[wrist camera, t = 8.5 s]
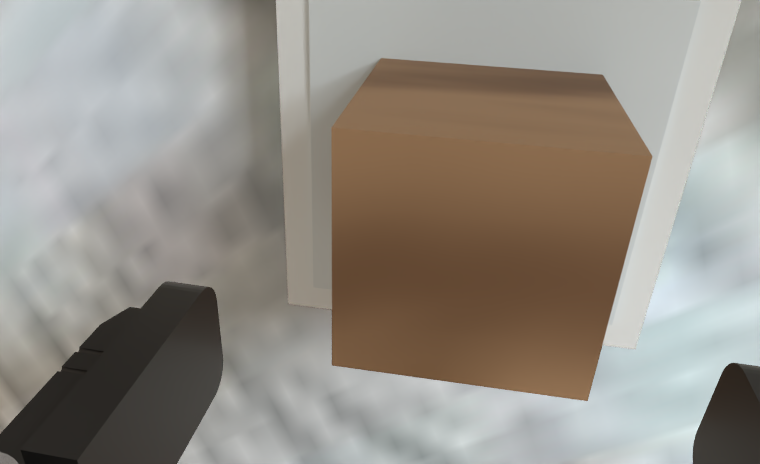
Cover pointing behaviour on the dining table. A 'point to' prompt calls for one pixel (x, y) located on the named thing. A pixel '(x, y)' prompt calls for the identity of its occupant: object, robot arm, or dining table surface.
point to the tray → (513, 50)
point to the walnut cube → (481, 224)
